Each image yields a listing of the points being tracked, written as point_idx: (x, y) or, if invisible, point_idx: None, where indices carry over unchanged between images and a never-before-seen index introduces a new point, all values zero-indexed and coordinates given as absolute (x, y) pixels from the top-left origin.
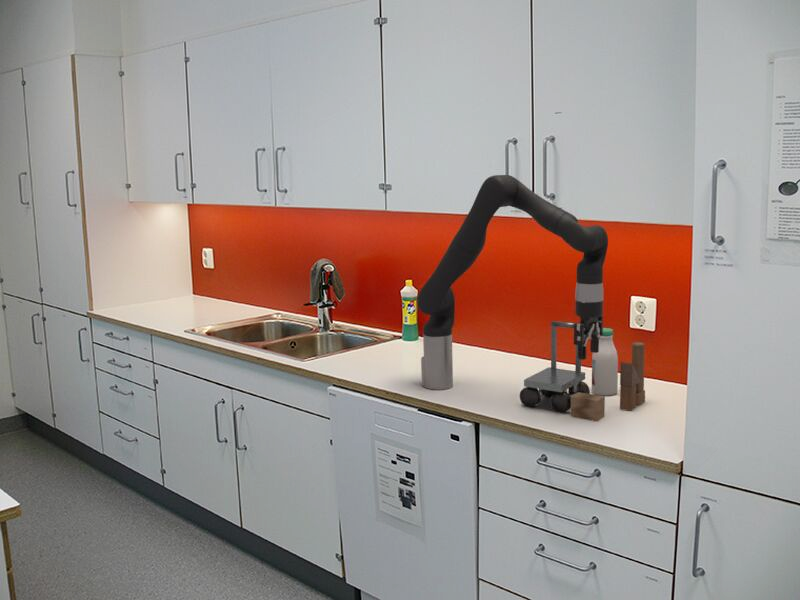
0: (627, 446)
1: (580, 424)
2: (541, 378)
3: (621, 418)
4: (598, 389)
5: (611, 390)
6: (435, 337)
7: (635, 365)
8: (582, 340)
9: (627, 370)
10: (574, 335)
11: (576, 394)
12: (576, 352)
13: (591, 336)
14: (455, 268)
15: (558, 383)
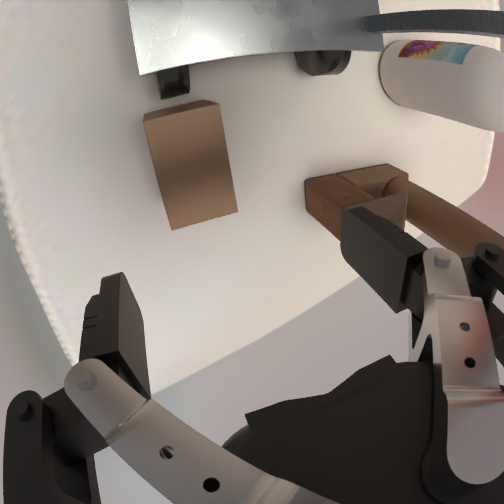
0: None
1: (105, 187)
2: None
3: (236, 229)
4: (389, 70)
5: (401, 103)
6: None
7: (438, 231)
8: (70, 480)
9: None
10: (8, 489)
11: (185, 119)
12: (434, 14)
13: (423, 284)
14: None
15: (161, 39)
